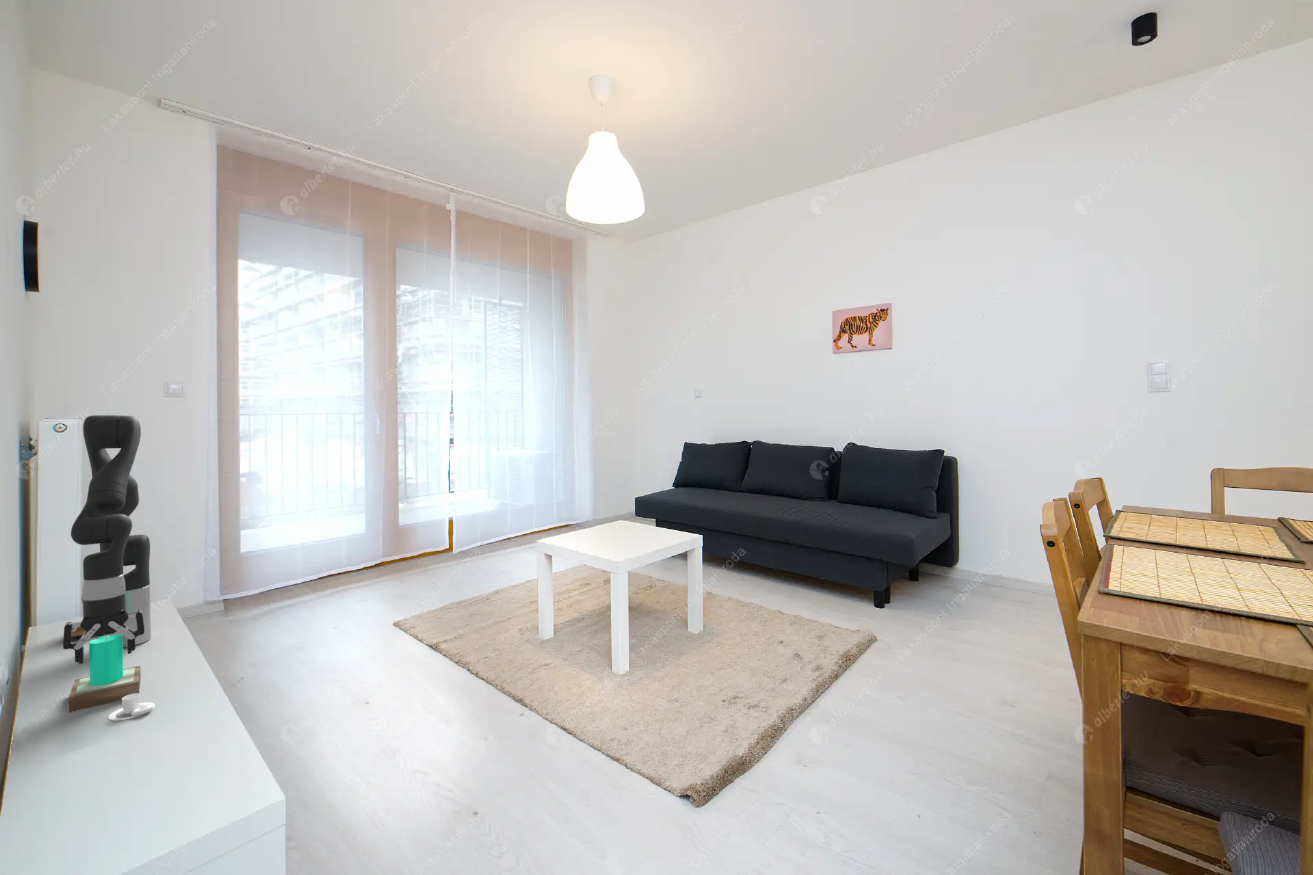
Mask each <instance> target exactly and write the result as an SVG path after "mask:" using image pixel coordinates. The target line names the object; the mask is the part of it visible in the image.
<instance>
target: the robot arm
mask: <svg viewBox="0 0 1313 875" xmlns="http://www.w3.org/2000/svg"><path fill="white" fill-rule="evenodd" d="M82 431H83V432H82V433H83V438H84V443H85V447H86V452H87V456H88V460H89V465H90V469H91V477H92V478H91V480H90V482H89V485H88V491H87V496H86V502H85V505H84V506H83V508H82V510H81V512H80V513H79V515H78V516H77V517H76V519H75V521H74V522H73V524H72V526H71V529H70V537H71V539H72V540H73V542H75V544H78V545H82V546H87V545H89V546H90V545H97V544H99V552H95V553H90V554H88V555H86V556H85V557H84V558H83V561H82V568H83V569H82V570H83V571H82V573H83V575H82V576H83V581H82V582H83V583H82V589H81V590H82V591H81V592H82V593H81V599H82V598H83V603H82V620H81V621H75V622H72V621H68V622H66V623H65V625H64V627H63V643H62V648H63V650H73V651H74V662H75V663H78V665H82V664H84V662H85V652H84V651H85V650H84V649H85V648H84V645H85V644H86V643H87V642H89V641H90V639H91V638H92V637H96V638H97V637H98V638H99V637H103V636H106V634H107V635H108V636H114V635H118V634H120V635H123V648H127V655H130V654H132V652H134V651H135V650H136V646H137V645H140V644H143V643H145V642H148V641H149V640H151V639H152V625H151V624H152V622H151V620H152V618H151V617H152V615H151V614H152V613H151V585H150V584H151V581H150V558H151V557H150V556H151V542H150V538H149V536H148V535H147V534H131V532H132V529H133V521H132V519H131V518H130V516H131V515H132V513H133V512H135V511H136V509H137V507H138V506H139V503H140V495H139V485H138V482H137V480H136V479H135V477H133V476H132V475H131V474H130V473H131V471H132V467H133V465H134V461H135V459H136V455H137V452H138V449H139V445H140V442H141V437H142V436H141V434H142V432H141V431H142V429H141V423H140V421H139V419H138V418H137V417H136V416H132V415H117V414H116V415H112V414H111V415H107V414H105V415H104V414H102V415H98V414H96V415H89V416H87V417H86V418H85V419H84V421H83V424H82ZM107 449H119V451H118V453H117V454H116V455H115V456H114V457H113V458H111V456H110V455H109V453H108V451H107ZM130 566H135V568H133V569H131V571H129V572H127V573H124V567H130ZM80 626H81V628H83V629H84V630H85V631H86V632H85V633H84V635H83V636H80V638H79V640H77V641H76V642H75V641H73V637H72V632H75V631H76V629H77V628H78V627H80Z"/></svg>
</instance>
